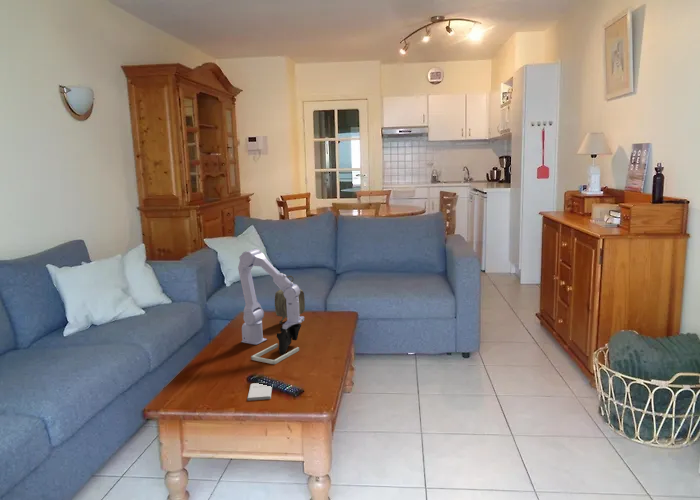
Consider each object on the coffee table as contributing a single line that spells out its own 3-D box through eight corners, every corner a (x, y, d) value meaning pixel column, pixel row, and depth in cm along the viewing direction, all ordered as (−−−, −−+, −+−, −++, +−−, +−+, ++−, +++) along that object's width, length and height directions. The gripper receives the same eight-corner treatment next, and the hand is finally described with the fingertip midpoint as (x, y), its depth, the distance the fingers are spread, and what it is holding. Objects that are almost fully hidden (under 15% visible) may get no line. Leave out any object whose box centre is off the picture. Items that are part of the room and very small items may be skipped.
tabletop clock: (294, 317, 283) (292, 272, 279) (307, 319, 278) (304, 274, 274) (275, 324, 272) (273, 277, 268) (288, 327, 266) (286, 279, 262)
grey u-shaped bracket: (251, 359, 223) (251, 356, 223) (276, 346, 238) (276, 343, 238) (274, 364, 217) (274, 361, 217) (299, 350, 232) (299, 347, 232)
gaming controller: (289, 355, 226) (288, 333, 225) (275, 355, 227) (274, 333, 225) (295, 344, 240) (294, 323, 239) (282, 344, 241) (281, 323, 239)
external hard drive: (247, 402, 184) (250, 387, 197) (270, 400, 185) (272, 385, 197) (247, 397, 184) (250, 383, 196) (270, 396, 185) (272, 381, 197)
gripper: (291, 316, 229) (292, 345, 232) (309, 308, 242) (310, 336, 244) (278, 314, 233) (279, 343, 235) (296, 306, 245) (298, 334, 247)
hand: (294, 339), depth 240 cm, fingers closed
